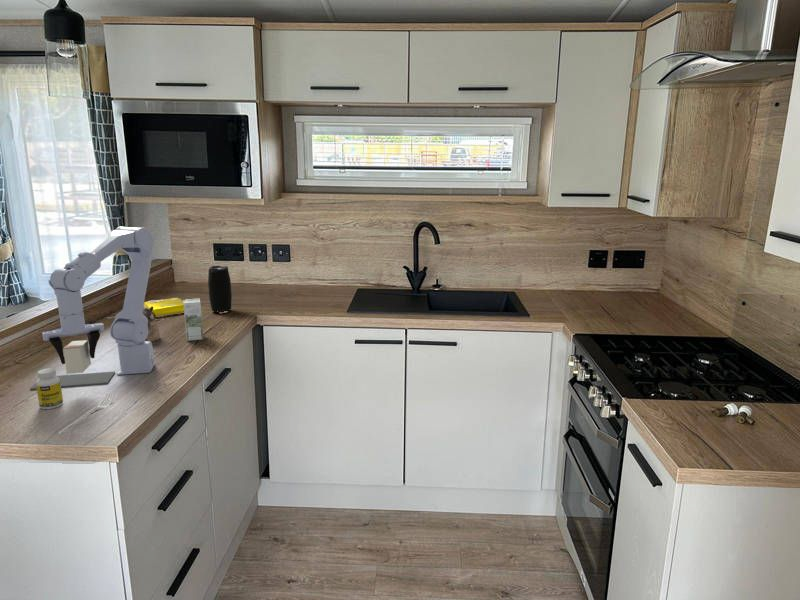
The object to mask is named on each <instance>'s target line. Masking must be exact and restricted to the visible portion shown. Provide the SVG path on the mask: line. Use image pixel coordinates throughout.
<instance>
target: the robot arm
mask: <svg viewBox="0 0 800 600" xmlns="http://www.w3.org/2000/svg"><path fill="white" fill-rule="evenodd" d="M154 240H155V237H154V236H153V234H152V232H151V230H150V229H148V228H147V227H144V226H142V227H134V226H133V227H131V226H129V227H128V226H121V225H120V226H118V227H116V229H114V230H112V231H111V232H110V236H108V237H107V238H106V239H105V240H103V241H102V242H101V243H100V244H99V245H98V246H97V247H96V248H95V249H93V250H92V251H91V252H90V251H85V252H82V251H81V252H79V253H78V254H77V257H76V258H74V259H73V260H72V261H70V262H68V263H66V264H65V265H64V267H63V268H57V269H56V268H55V270H54V271H53V272H52V273H51V274H50V278H49V279H48V285H49V287H51V289H53V291H54V295H55V297H56V303H57V309H58V314H59V323H60V328H57V329H52V330H47V331H43V332H41V334H42V339H43V341H44V342H46V341H49V342H50V344H51V345H52V346H53V347H54V349H55V351H56V352H57V354H58V357H59V360H60V362H61V364H62V365H65V358H64V352H63V348H64V347H63V342H62V339H61V338H65V337H72V336H79V335H85V334H86V336H87V340H88V344H89V352H90V359H95V354H96V348H97V345H98V342H99V339H100V337H101V334H100V332H105V326H104V323H102V322H99V323H89V324H88V323H87V324H86V322H85V321H86V320H85V314H84V307H83V306H84V305H83V300H82V294H81V293H82V292H81V289H82V288H83V287H84V285H85V283H86V280H87V278H89V277H90V276H92V275H93V274H94V273H95V272H97V271H98V270H99V269H101V266H102V263H101V262H103V261H104V260H105V259H107V258H108V257H110V256H111V255H113V254H114V253H116V252H117V251H119V250H120V249H121V250H122V251H123V252H125V253H126V254H127V255H128V257H130V259H131V264H130V268H129V274H128V280H127V283H126V284H127V286H126V290H125V296H124V300H123V305H122V309H121V310H120V311H119V312H118V313H116V314H115V316H114V320H113V322H112V324H111V326H110V328H109V333H110V337H111V338H112V339H113V340H115V344H117V350H118V351H117V352H118V358H119V359H118V360H119V366H120V367H119V370H118V371H117V373H116V375H117V376H120V375H131V374H132V375H134V374H147V373H151V372H152V370H153V368H154V366H155V365H156V364H155V358H154V357H155V356H154V349H153V348H154V347H153V343H152V342H151V341H145V340H146V338H147V336H148V319H147V318H146V317H145V316H144V314H143V313H142V310H143V308H144V302H145V300H146V299H145V298H146V294H147V288H148V282H149V277H150V271H151V266H152V261H153V246H154V242H155V241H154Z"/></svg>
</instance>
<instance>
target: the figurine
mask: <svg viewBox="0 0 800 600" xmlns="http://www.w3.org/2000/svg"><path fill="white" fill-rule="evenodd" d="M153 308H154V307H152V306H151V307H150V309H148V308H146V307H145V308H144V307H143V310H142V313H143V314H144V316H145V317H146V318H147V319H148V336H147V338H146V340H145V341H153V342H156V341H158V340H159V339H160V338H161V336H160V335H161V334H160V328H159V326H158V324H157V322H156V321H157V320H156V316H155V313H154V312H152V310H153ZM151 315H153V318H151V317H150V316H151ZM155 340H156V341H155Z"/></svg>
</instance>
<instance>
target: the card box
mask: <svg viewBox="0 0 800 600" xmlns="http://www.w3.org/2000/svg"><path fill="white" fill-rule="evenodd" d="M63 354H64V358H65V364H64V365H65V371H66V375H70V374H84V372H85V371H86V369H88V368H89V367H90V365H91V364H92V361H91V359H92V358H91V357H90V351H89V342H88V339H87V340H86V339H85V340H72V341H70V342H69V343H68V344H67V345H65V346H64V347H63Z"/></svg>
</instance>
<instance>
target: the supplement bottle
mask: <svg viewBox="0 0 800 600" xmlns="http://www.w3.org/2000/svg"><path fill="white" fill-rule="evenodd" d="M57 376H58V375H57V371H56V368H51V367H50V368H49V367H48V368H42V369H40V370H38V371H37V377H38V379H37V380H36V381H35V383H36V386H37V390H36V392H37V393H36V394H37V399H38V405H39V408H40V409H43V410H52V409H56V408H58V407H61V406H62V405H63V403H64V399H63V391H62V388H61V383H60V378H59V377H57Z"/></svg>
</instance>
